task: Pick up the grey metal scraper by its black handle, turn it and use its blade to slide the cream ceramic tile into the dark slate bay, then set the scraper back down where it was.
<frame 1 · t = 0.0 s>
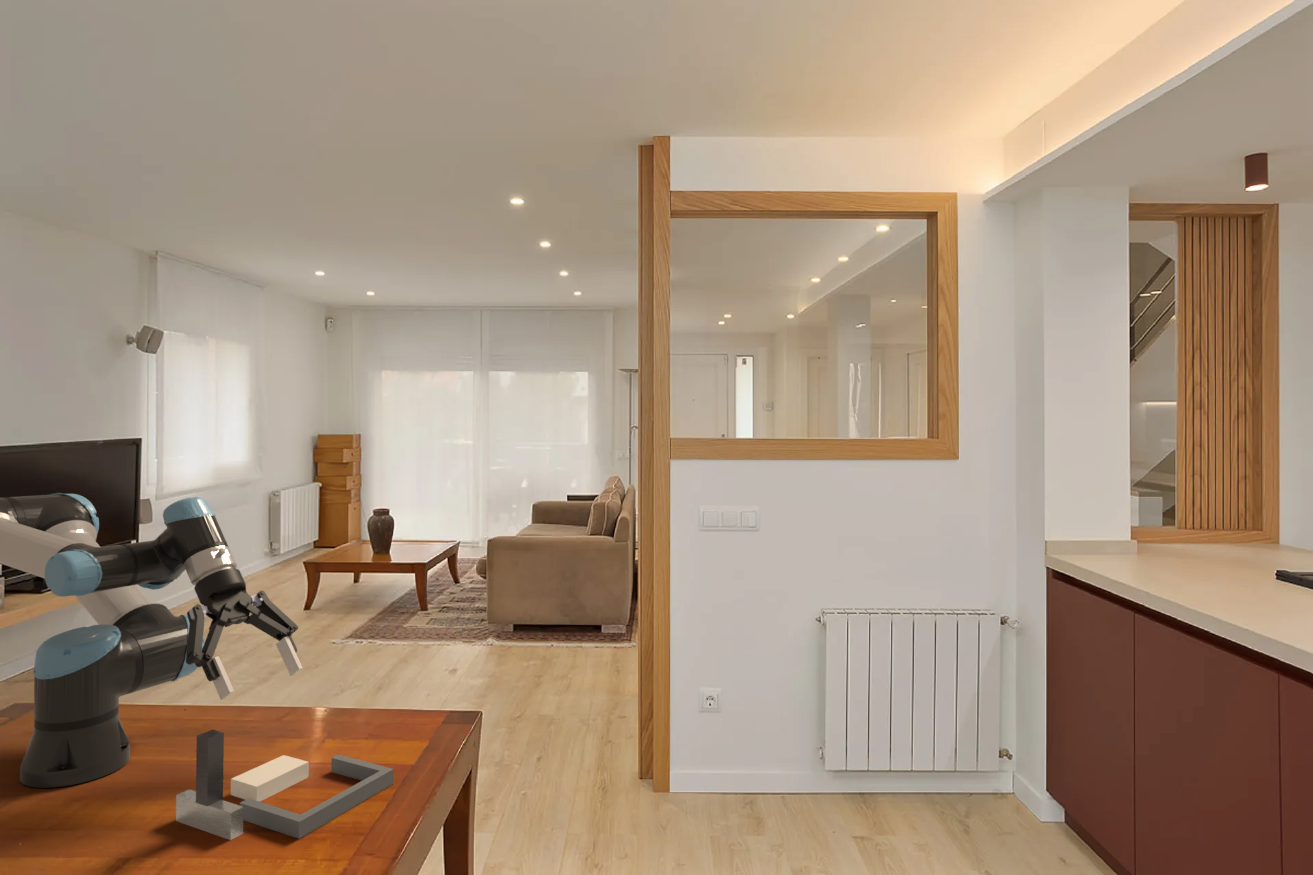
hand: (263, 683, 132), 15 cm above the table, tool tilted 35°, fingers open, 13 cm apart
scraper: (209, 827, 113), on the table
slate bay: (319, 800, 122), on the table
cream tile: (270, 787, 126), on the table
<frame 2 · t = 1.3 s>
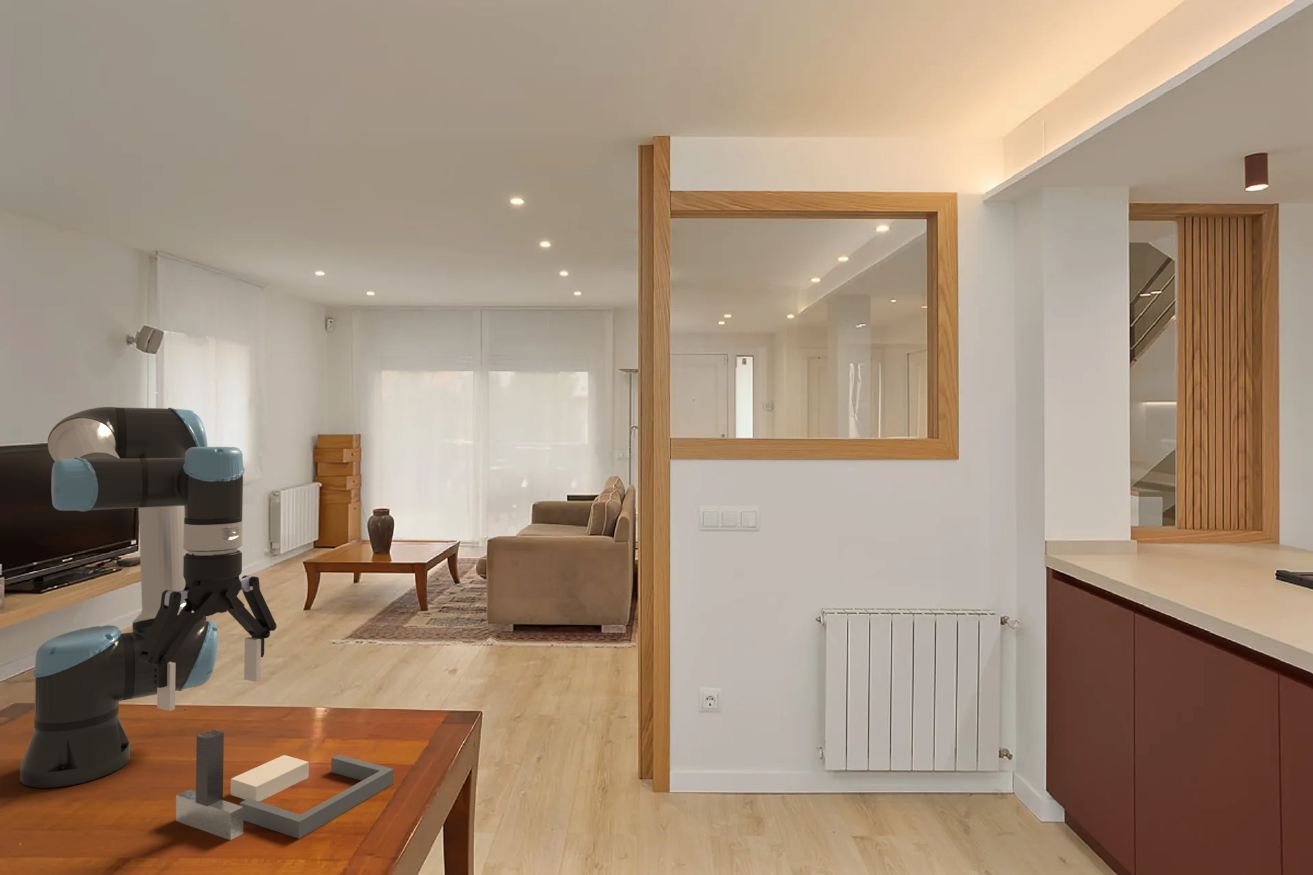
hand: (211, 693, 113), 20 cm above the table, tool pointing down, fingers open, 13 cm apart
nothing on the table moved.
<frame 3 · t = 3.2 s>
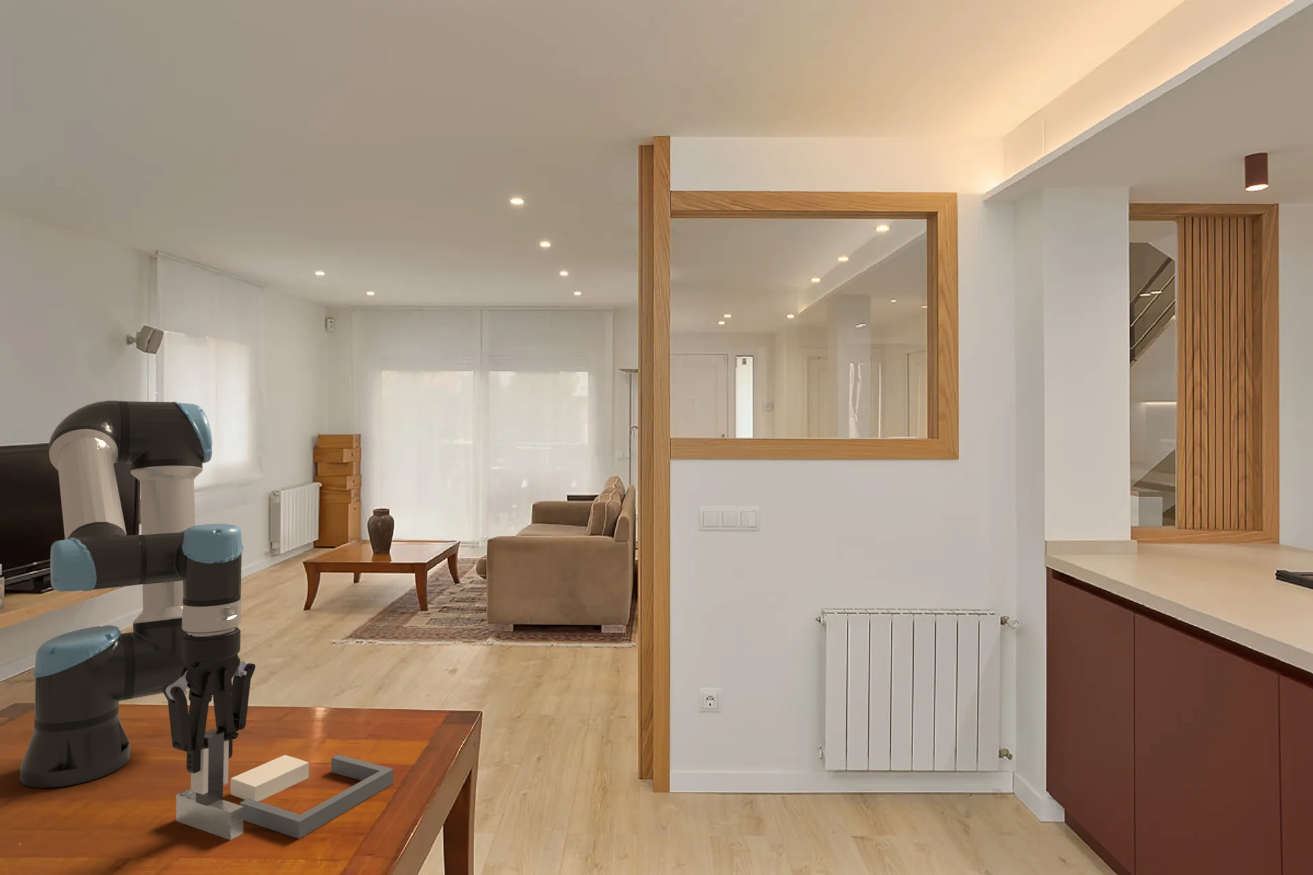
hand: (209, 786, 113), 6 cm above the table, tool pointing down, fingers closed on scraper, 2 cm apart
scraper: (209, 826, 113), on the table, touching gripper
everything else where it was.
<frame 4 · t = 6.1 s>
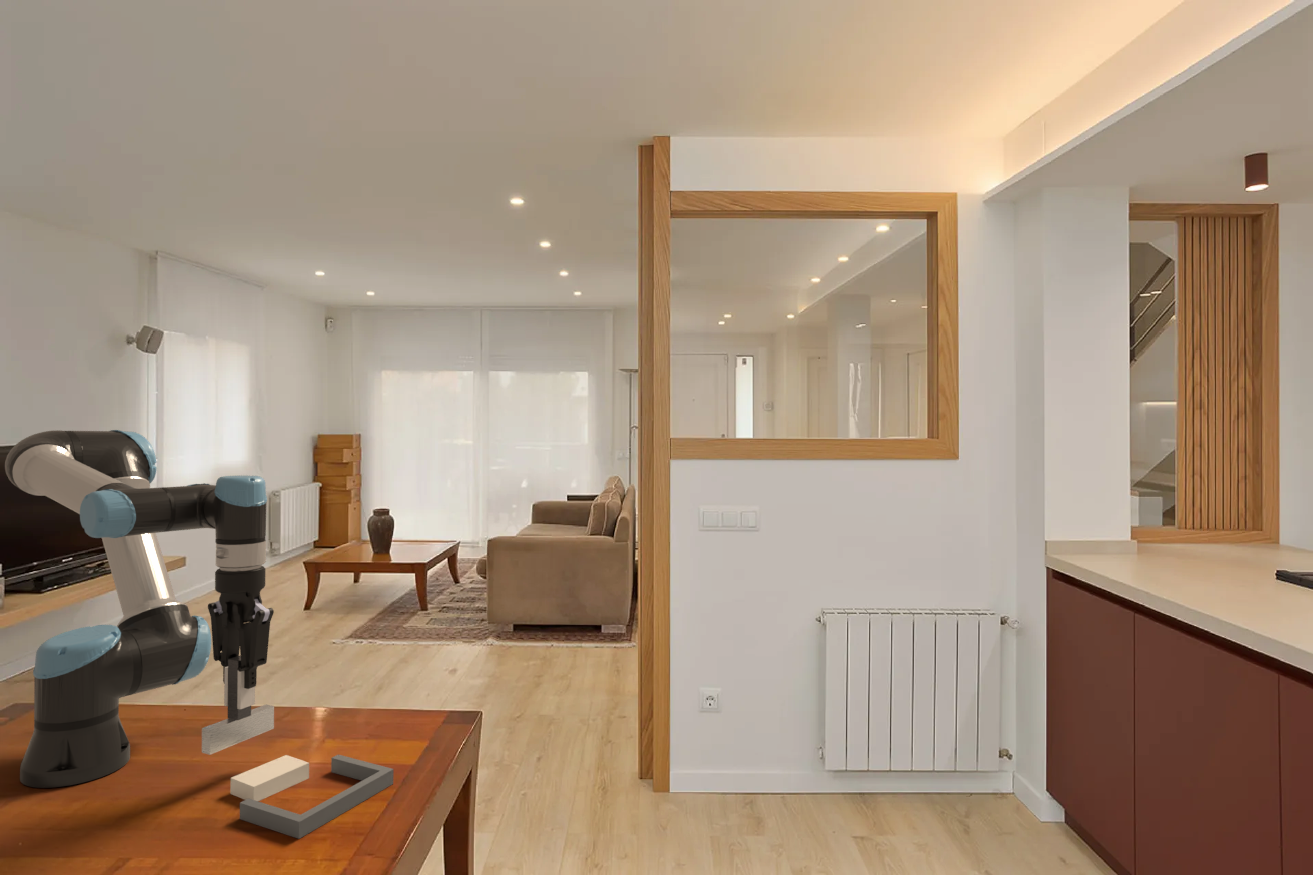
hand: (239, 704, 129), 12 cm above the table, tool pointing down, fingers closed on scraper, 2 cm apart
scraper: (239, 739, 129), point 6 cm above the table, touching gripper
everything else where it was.
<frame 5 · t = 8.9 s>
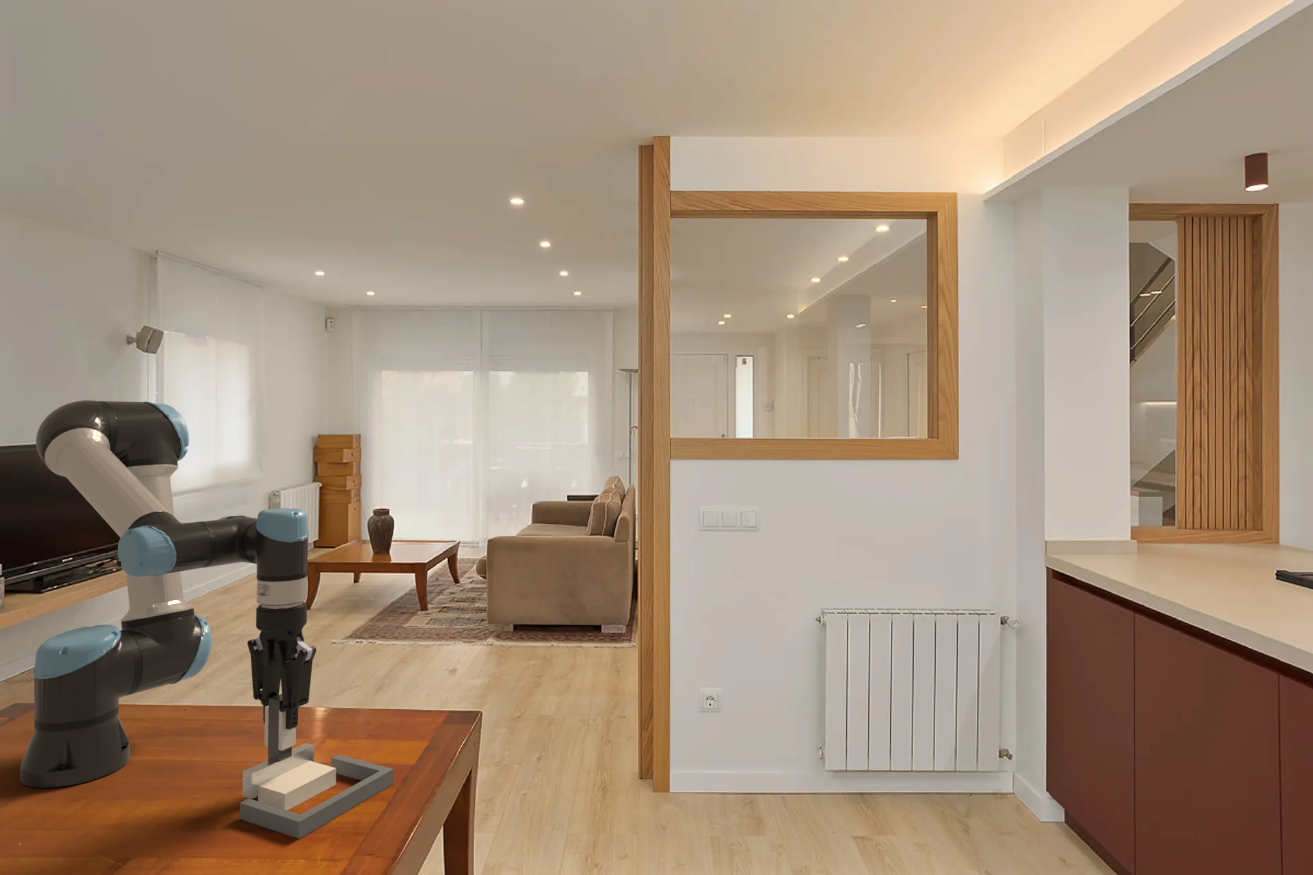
hand: (280, 744, 125), 7 cm above the table, tool pointing down, fingers closed on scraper, 2 cm apart
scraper: (279, 781, 125), point 1 cm above the table, touching gripper
cream tile: (297, 794, 124), on the table
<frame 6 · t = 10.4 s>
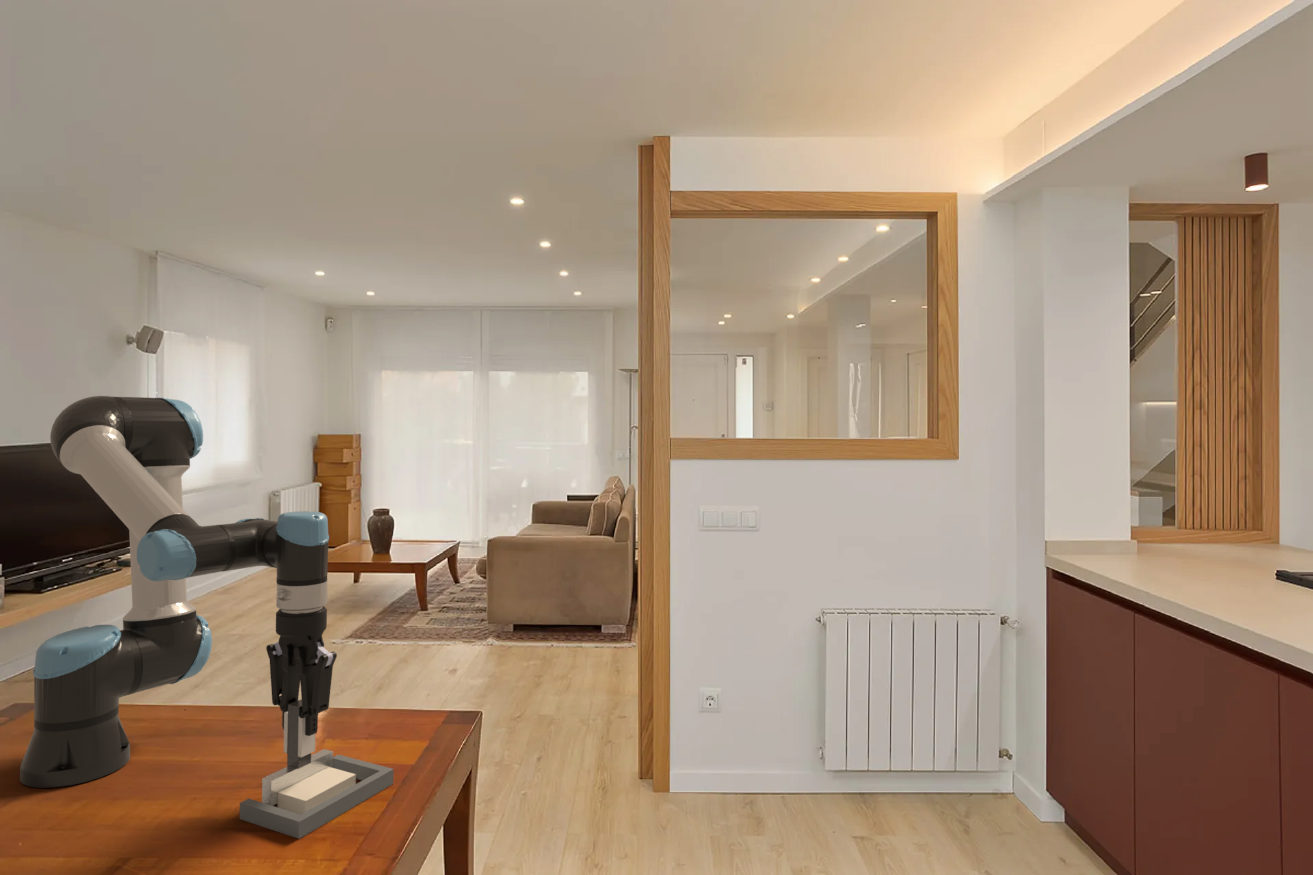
hand: (299, 751, 124), 7 cm above the table, tool pointing down, fingers closed on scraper, 2 cm apart
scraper: (298, 788, 124), point 1 cm above the table, touching gripper
cream tile: (317, 801, 122), on the table
when the fingers open (7 cm above the table, at t = 14.7 s): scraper drops 1 cm, on the table.
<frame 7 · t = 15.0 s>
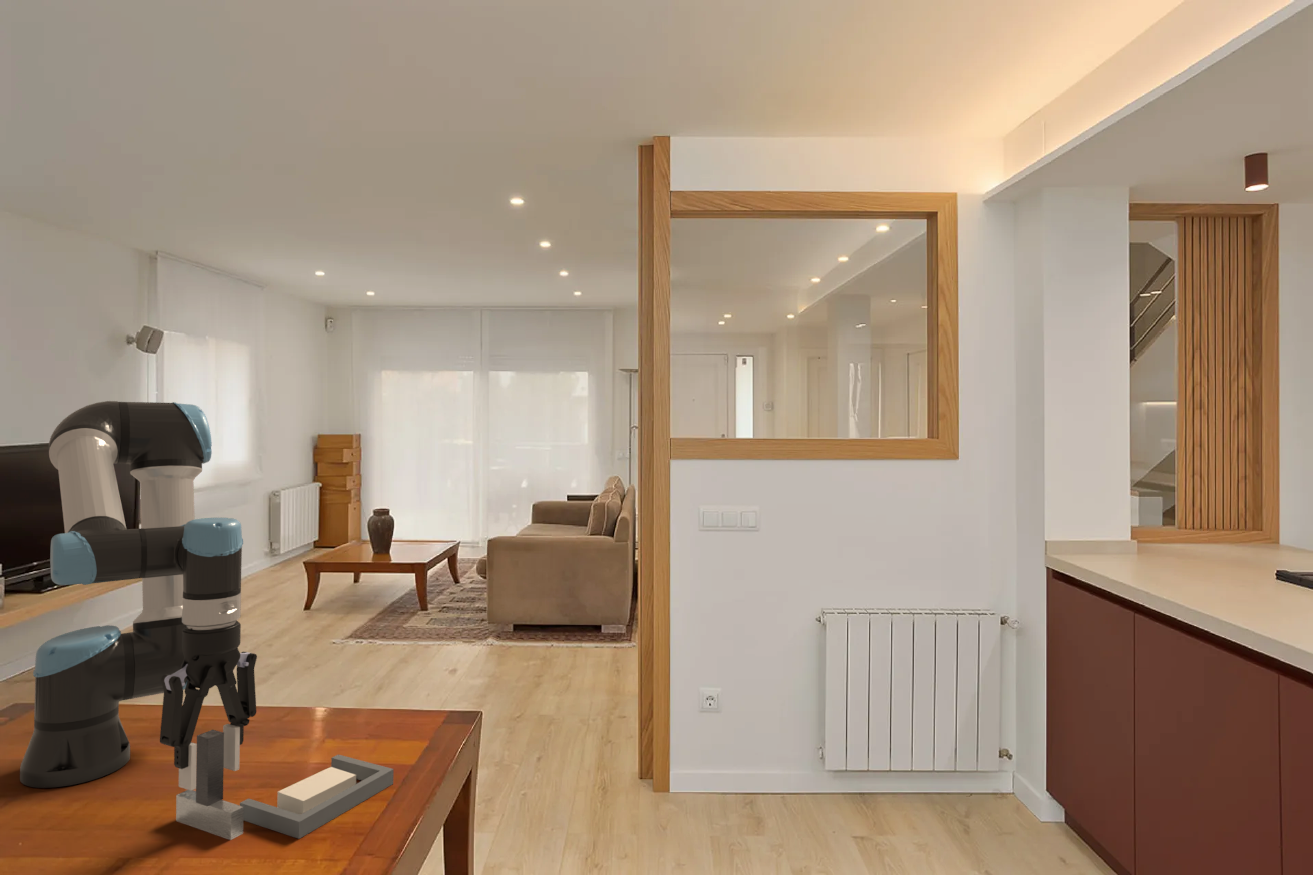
hand: (209, 777, 113), 7 cm above the table, tool pointing down, fingers open, 6 cm apart
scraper: (209, 827, 113), on the table
everything else where it was.
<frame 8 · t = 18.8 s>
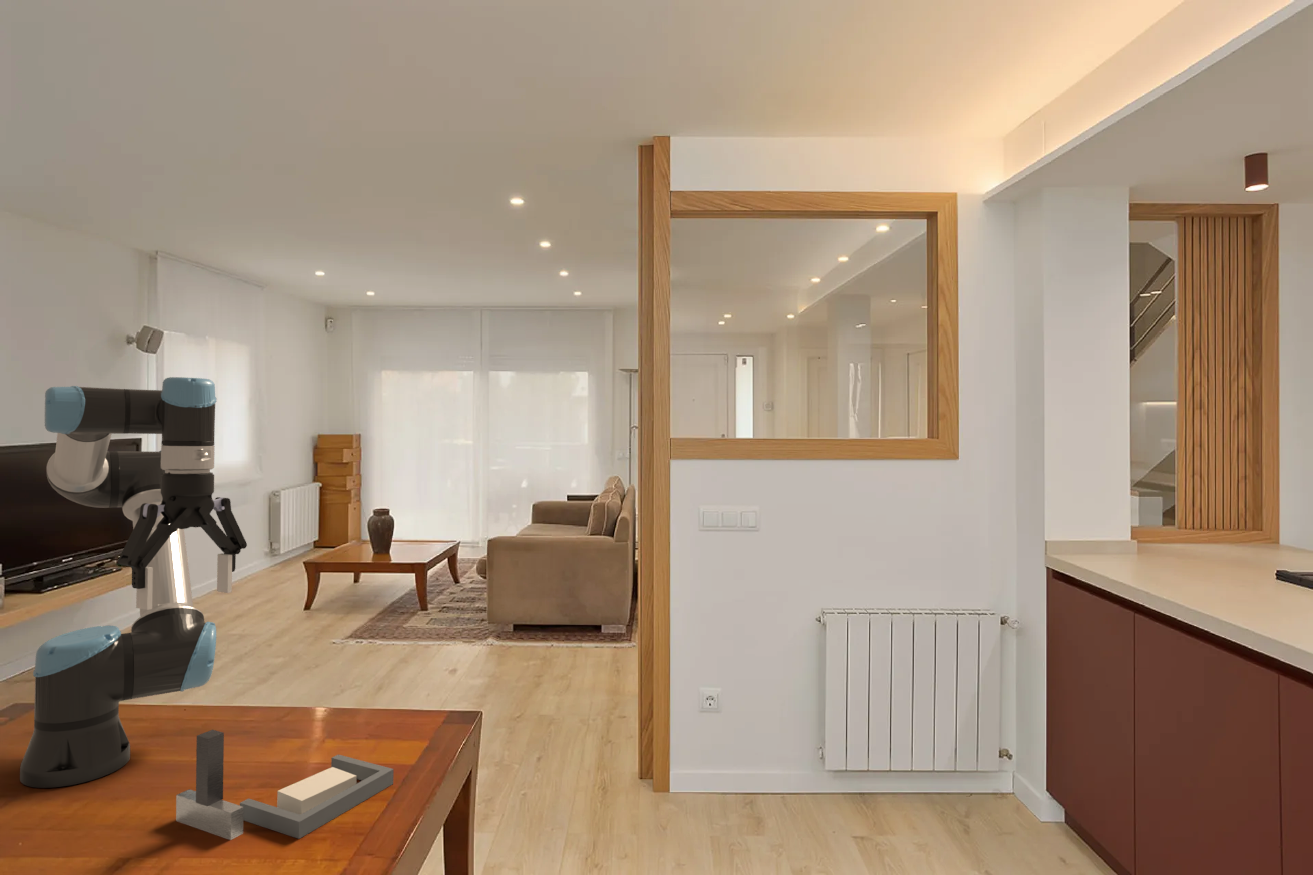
hand: (186, 599, 126), 31 cm above the table, tool pointing down, fingers open, 13 cm apart
nothing on the table moved.
at the end: cream tile 0.2 cm off-centre on the slate bay, point 0.0 cm above the slate bay's base; the gripper is holding nothing; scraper touching table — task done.
